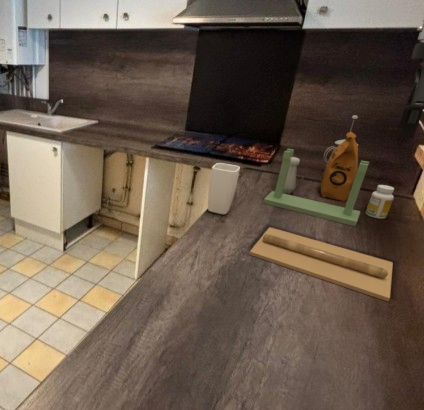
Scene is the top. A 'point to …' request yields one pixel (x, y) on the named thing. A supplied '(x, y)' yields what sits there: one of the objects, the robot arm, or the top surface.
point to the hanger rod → (326, 256)
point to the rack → (315, 207)
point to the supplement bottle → (380, 202)
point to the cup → (222, 187)
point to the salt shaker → (291, 176)
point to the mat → (326, 264)
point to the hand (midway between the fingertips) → (405, 132)
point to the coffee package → (341, 170)
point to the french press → (340, 140)
